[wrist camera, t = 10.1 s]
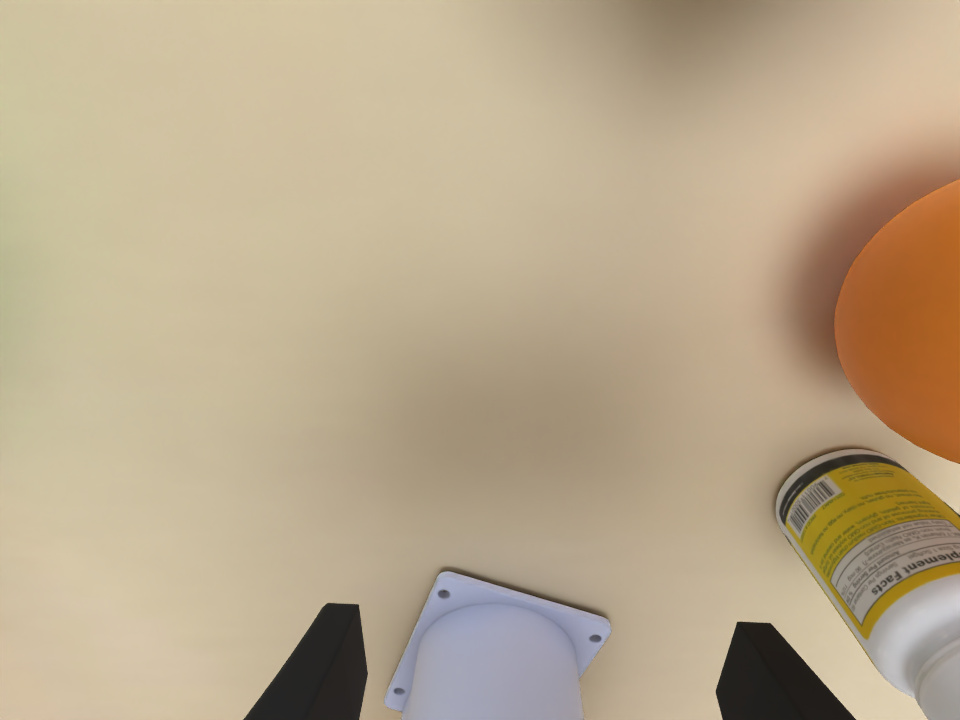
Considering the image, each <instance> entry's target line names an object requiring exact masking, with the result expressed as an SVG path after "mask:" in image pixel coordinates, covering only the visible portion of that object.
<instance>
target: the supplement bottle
mask: <svg viewBox="0 0 960 720" xmlns="http://www.w3.org/2000/svg"><path fill="white" fill-rule="evenodd" d="M775 510H776V518H777V522H778V524H779V527H780V529H781V530H782V532H783V534H784V535H785V537H786V538H787V540H788V541H789V543H790V544H791V545H792V547H793V548H794V550H795V551H796V553H797V554H798V556H799V557H800V558H801V560H802V561H803V563H804V564H805V565H806V567H807V568H808V570H809V571H810V573H811V574H812V576H813V577H814V579H815V580H816V581H817V583H818V584H819V586H820V587H821V589H822V590H823V591H824V593H825V594H826V596H827V597H828V598H829V600H830V601H831V603H832V604H833V606H834V607H835V609H836V610H837V612H838V613H839V615H840V616H841V617H842V619H843V620H844V622H845V623H846V625H847V626H848V628H849V629H850V631H851V632H852V633H853V635H854V636H855V638H856V639H857V641H858V642H859V644H860V645H861V647H862V648H863V650H864V651H865V653H866V654H867V656H868V657H869V659H870V660H871V662H872V663H873V665H874V666H875V667H876V669H877V670H878V671H879V673H880V674H881V675H882V676H883V677H884V678H885V679H886V680H887V681H888V682H889V683H890V684H892V685H893V686H894V687H895V688H897V689H898V690H900V691H901V692H903V693H905V694H907V695H909V696H911V697H913V698H915V699H916V701H917V703H918V705H919V706H920V708H921V709H922V711H923V713H924V715H925V716H926V717H927V718H928V720H960V515H959V514H957V513H956V512H955V511H954V510H953V509H952V508H951V507H949V506H948V505H947V504H946V503H945V502H943V501H942V500H941V499H940V498H939V497H937V496H936V495H935V494H934V493H933V492H932V491H930V490H929V489H928V488H927V487H926V486H924V485H923V484H922V483H921V482H920V481H919V480H917V479H916V478H915V477H914V476H913V475H911V474H910V473H909V472H908V471H907V470H906V469H904V468H903V467H902V466H901V465H900V464H898V463H897V462H896V461H894V460H893V459H891V458H889V457H888V456H886V455H883V454H881V453H878V452H874V451H870V450H863V449H847V450H840V451H836V452H832V453H828V454H826V455H823V456H820V457H818V458H816V459H813V460H811V461H809V462H808V463H806V464H804V465H803V466H801V467H800V468H799V469H797V470H796V471H795V472H794V473H793V474H792V475H791V476H790V477H789V478H788V479H787V480H786V482H785V483H784V484H783V486H782V488H781V489H780V492H779V494H778V497H777V500H776V509H775Z"/></svg>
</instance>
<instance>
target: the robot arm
mask: <svg viewBox="0 0 960 720" xmlns="http://www.w3.org/2000/svg"><path fill="white" fill-rule="evenodd" d="M442 590H446V591H442ZM611 631H612V630H611V625H610V621H609V620H608V619H607V618H604V617H602V616H598V615H595V614H592V613H588V612H585V611H582V610H578V609H575V608H572V607H568V606H565V605H561V604H558V603H555V602H551V601H548V600H545V599H541V598H538V597H535V596H531V595H528V594H524V593H521V592H518V591H514V590H511V589H508V588H504V587H501V586H498V585H494V584H491V583H488V582H484V581H481V580H477V579H474V578H471V577H467V576H464V575H461V574H457V573H454V572H449V571H446V572H442V573H440V574H439V575H438V576H437V579H436V581H435V583H434V585H433V588H432V590H431V592H430V594H429V597H428V599H427V601H426V603H425V606H424V608H423V610H422V612H421V615H420V617H419V619H418V622H417V624H416V626H415V628H414V631H413V633H412V635H411V637H410V640H409V642H408V644H407V646H406V649H405V651H404V653H403V655H402V658H401V660H400V662H399V665H398V667H397V669H396V671H395V674H394V676H393V678H392V680H391V683H390V685H389V687H388V689H387V692H386V694H385V699H384V704H385V705H386V706H387V707H388V708H390V709H393V710H397V711H401V712H402V717H401V720H584V713H583V705H582V698H581V690H580V683H579V679H580V677H581V676H582V674H583V673H584V671H585V670H586V669H587V667H588V666H589V664H590V663H591V661H592V660H593V658H594V657H595V655H596V654H597V653H598V651H599V650H600V648H601V647H602V645H603V644H604V642H605V641H606V639H607V638H608V637H609V635H610V634H611ZM367 675H368V672H367V665H366V657H365V649H364V641H363V634H362V626H361V618H360V610H359V605H358V604H336V603H327V604H326V605H325V606H324V607H323V608H322V609H321V611H320V612H319V614H318V615H317V617H316V618H315V620H314V622H313V623H312V625H311V626H310V628H309V629H308V631H307V632H306V634H305V635H304V637H303V638H302V640H301V641H300V643H299V644H298V645H297V647H296V648H295V650H294V651H293V653H292V654H291V656H290V657H289V658H288V660H287V661H286V663H285V664H284V665H283V667H282V668H281V670H280V671H279V673H278V674H277V675H276V677H275V678H274V679H273V681H272V682H271V683H270V685H269V686H268V688H267V689H266V690H265V692H264V693H263V694H262V696H261V697H260V698H259V700H258V701H257V702H256V704H255V705H254V706H253V708H252V709H251V710H250V712H249V713H248V714H247V716H246V717H245V718H244V720H359V717H360V712H361V707H362V702H363V696H364V691H365V686H366V680H367ZM716 695H717V699H718V703H719V707H720V711H721V714H722V718H723V720H856V719H855V718H854V717H853V716H852V714H851V713H850V712H849V711H848V710H847V709H846V708H845V707H844V706H843V704H842V703H841V702H840V701H839V700H838V699H837V698H836V697H835V696H834V694H833V693H832V692H831V691H830V690H829V689H828V688H827V686H826V685H825V684H824V683H823V682H822V681H821V680H820V679H819V677H818V676H817V675H816V674H815V673H814V672H813V671H812V670H811V668H810V667H809V666H808V665H807V664H806V663H805V662H804V660H803V659H802V658H801V657H800V656H799V655H798V654H797V652H796V651H795V650H794V649H793V648H792V647H791V646H790V644H789V643H788V642H787V641H786V640H785V639H784V638H783V637H782V635H781V634H780V633H779V632H778V631H777V630H776V629H775V628H774V626H773V625H772V624H771V623H755V622H737V625H736V628H735V631H734V634H733V637H732V641H731V644H730V647H729V650H728V653H727V657H726V660H725V663H724V666H723V669H722V673H721V676H720V679H719V682H718V685H717V689H716Z"/></svg>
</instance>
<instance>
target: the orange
mask: <svg viewBox="0 0 960 720" xmlns="http://www.w3.org/2000/svg"><path fill="white" fill-rule="evenodd" d="M834 331H835V340H836V347H837V353H838V356H839V359H840V363H841V365H842V368H843V370H844V372H845V375H846V377H847V379H848V380H849V382H850V384H851V386H852V388H853V389H854V390H855V392H856V393H857V394H858V396H859V397H860V398H861V400H862V401H863V402H864V404H865V405H866V406H867V408H868V409H869V410H871V411H872V412H873V413H874V414H875V415H876V416H877V417H878V418H879V419H880V420H881V421H882V422H884V423H885V424H886V425H887V426H888V427H889V428H890V429H892V430H893V431H895V432H896V433H898V434H899V435H901V436H902V437H904V438H906V439H907V440H909V441H910V442H912V443H913V444H915V445H916V446H918V447H921V448H923V449H925V450H927V451H929V452H931V453H933V454H935V455H938V456H940V457H942V458H945V459H947V460H949V461H952V462H955V463H959V464H960V179H958V180H956V181H954V182H952V183H949V184H947V185H945V186H943V187H941V188H939V189H937V190H935V191H933V192H931V193H929V194H927V195H926V196H924V197H922V198H921V199H919V200H917V201H916V202H914V203H912V204H911V205H910V206H908V207H907V208H905V209H904V210H903V211H901V212H900V213H899V214H897V215H896V216H895V217H894V218H893V219H891V220H890V221H889V222H888V223H887V224H886V225H885V226H884V227H882V228H881V229H880V230H879V231H878V232H877V233H876V234H875V235H874V237H873V238H872V239H871V240H870V241H869V242H868V243H867V244H866V245H865V247H864V248H863V249H862V251H861V252H860V253H859V255H858V256H857V258H856V259H855V261H854V263H853V264H852V266H851V268H850V269H849V271H848V273H847V275H846V278H845V280H844V282H843V285H842V288H841V291H840V294H839V297H838V300H837V305H836V311H835V321H834Z"/></svg>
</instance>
